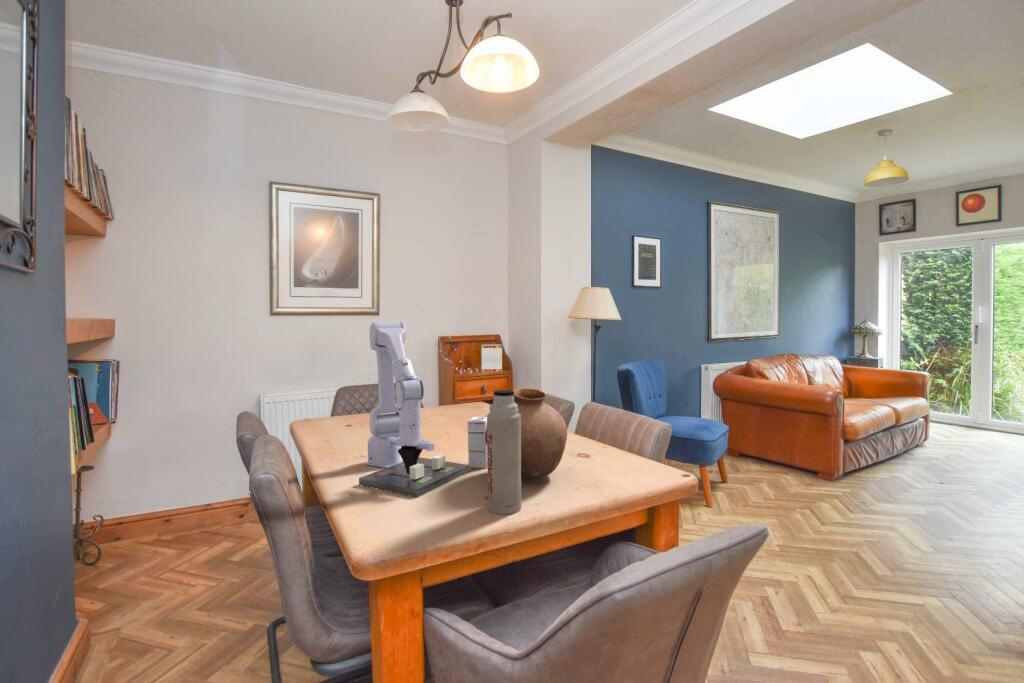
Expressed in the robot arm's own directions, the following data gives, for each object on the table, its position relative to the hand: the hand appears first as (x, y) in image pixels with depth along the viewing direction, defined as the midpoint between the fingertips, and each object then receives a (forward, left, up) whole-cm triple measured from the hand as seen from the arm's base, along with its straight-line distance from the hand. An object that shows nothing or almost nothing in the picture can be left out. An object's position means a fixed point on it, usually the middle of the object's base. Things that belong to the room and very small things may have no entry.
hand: (410, 473), depth 138 cm
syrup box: (+7, +24, -3) cm, 25 cm away
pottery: (+25, +20, -3) cm, 32 cm away
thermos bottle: (+31, -3, -3) cm, 31 cm away
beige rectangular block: (+2, 0, -1) cm, 2 cm away
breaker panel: (-2, +5, -3) cm, 6 cm away
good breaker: (+2, +10, -1) cm, 10 cm away
